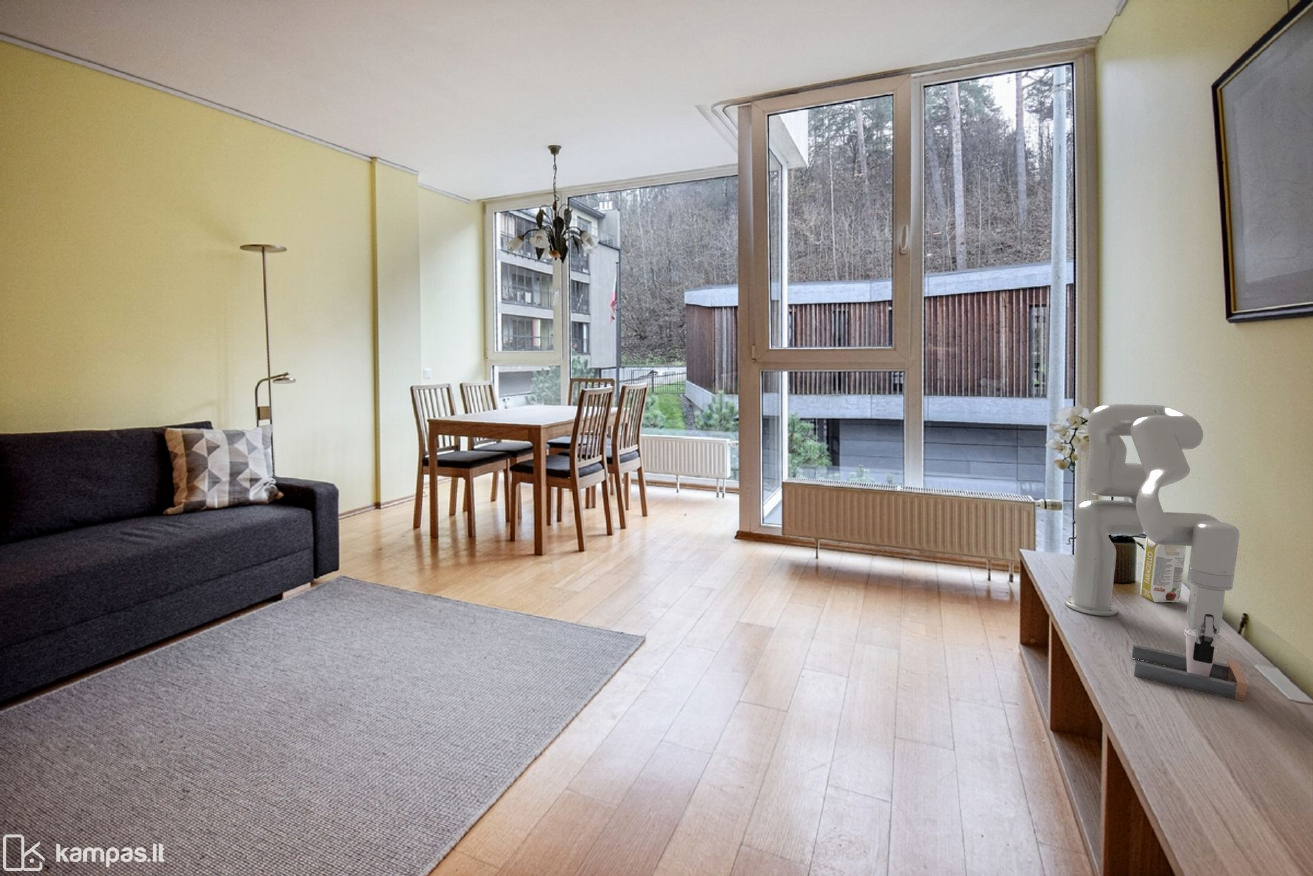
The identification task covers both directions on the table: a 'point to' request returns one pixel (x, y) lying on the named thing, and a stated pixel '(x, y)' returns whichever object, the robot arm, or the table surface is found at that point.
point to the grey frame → (1230, 672)
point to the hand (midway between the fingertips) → (1200, 654)
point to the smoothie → (1191, 638)
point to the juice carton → (1162, 572)
